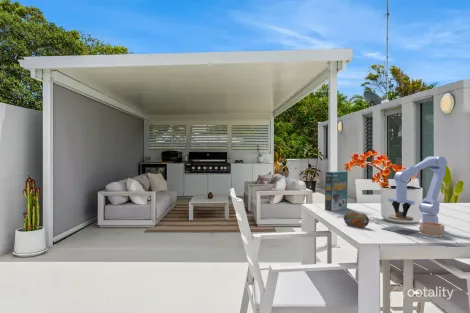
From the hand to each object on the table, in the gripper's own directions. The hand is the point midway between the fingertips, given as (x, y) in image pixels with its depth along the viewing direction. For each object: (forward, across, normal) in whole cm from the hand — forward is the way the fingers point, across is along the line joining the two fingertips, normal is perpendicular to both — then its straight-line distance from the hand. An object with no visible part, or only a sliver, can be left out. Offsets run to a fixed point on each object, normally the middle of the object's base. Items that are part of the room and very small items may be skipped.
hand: (400, 215), depth 191 cm
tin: (+9, -20, -14) cm, 26 cm away
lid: (+2, 0, 0) cm, 2 cm away
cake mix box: (+9, -68, +26) cm, 73 cm away
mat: (+9, 0, 0) cm, 9 cm away
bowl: (+9, +15, +5) cm, 18 cm away
